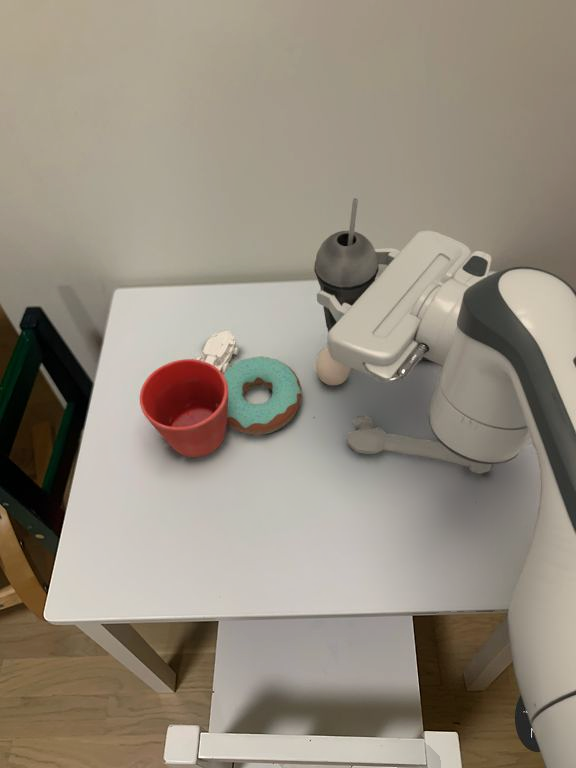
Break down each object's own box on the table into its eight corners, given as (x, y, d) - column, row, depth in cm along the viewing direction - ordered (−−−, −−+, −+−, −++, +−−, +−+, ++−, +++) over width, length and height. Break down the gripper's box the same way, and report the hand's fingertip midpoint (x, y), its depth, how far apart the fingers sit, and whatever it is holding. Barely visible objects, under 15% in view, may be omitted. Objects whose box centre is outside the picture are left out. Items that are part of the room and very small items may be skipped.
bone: (343, 454, 77) (343, 440, 74) (353, 421, 80) (354, 406, 77) (484, 493, 73) (491, 479, 70) (490, 457, 76) (497, 442, 73)
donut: (200, 401, 83) (194, 384, 80) (265, 354, 88) (262, 337, 84) (253, 456, 78) (249, 441, 75) (320, 404, 82) (319, 387, 79)
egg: (316, 394, 83) (315, 365, 77) (315, 366, 86) (314, 336, 80) (351, 392, 83) (352, 363, 77) (349, 365, 85) (350, 335, 80)
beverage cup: (305, 331, 77) (296, 205, 61) (346, 302, 79) (347, 173, 63) (344, 363, 73) (346, 239, 57) (386, 332, 76) (398, 204, 59)
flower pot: (190, 387, 85) (175, 345, 77) (253, 421, 81) (244, 379, 73) (142, 443, 80) (120, 404, 72) (206, 481, 76) (191, 444, 68)
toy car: (193, 377, 86) (187, 359, 83) (214, 336, 90) (209, 317, 87) (223, 384, 85) (219, 367, 81) (243, 342, 89) (240, 324, 86)
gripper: (395, 406, 61) (288, 347, 67) (485, 286, 70) (384, 243, 75) (400, 369, 56) (284, 309, 62) (497, 245, 65) (388, 202, 70)
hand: (340, 272), depth 69 cm, fingers closed on beverage cup, 6 cm apart
